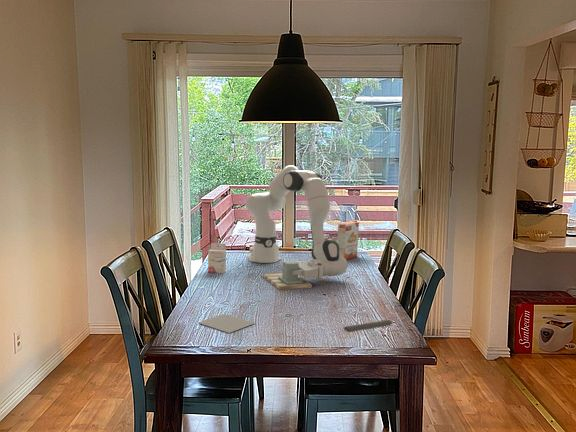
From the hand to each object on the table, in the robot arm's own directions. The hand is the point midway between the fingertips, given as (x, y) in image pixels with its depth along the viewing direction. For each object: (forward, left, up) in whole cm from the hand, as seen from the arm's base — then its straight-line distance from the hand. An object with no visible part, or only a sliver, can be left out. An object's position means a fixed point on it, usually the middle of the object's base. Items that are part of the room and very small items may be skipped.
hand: (288, 270), depth 268 cm
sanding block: (0, +1, -5) cm, 6 cm away
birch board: (-5, +1, -7) cm, 9 cm away
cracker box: (-46, +54, -7) cm, 71 cm away
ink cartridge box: (-34, -27, -7) cm, 44 cm away
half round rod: (+65, +9, -8) cm, 66 cm away
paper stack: (+47, -35, -8) cm, 59 cm away
